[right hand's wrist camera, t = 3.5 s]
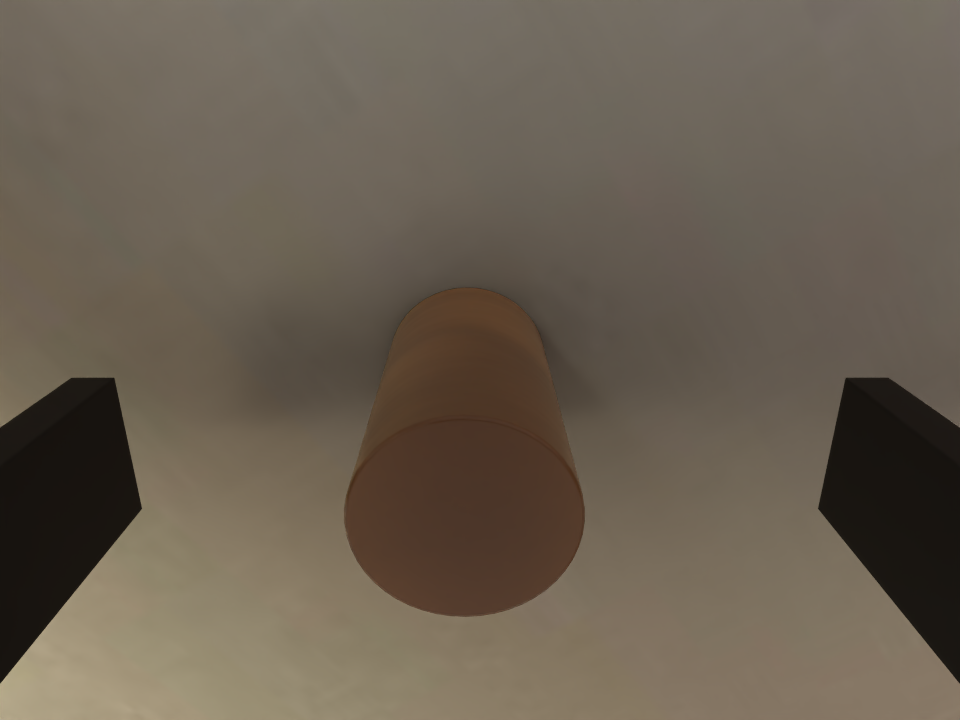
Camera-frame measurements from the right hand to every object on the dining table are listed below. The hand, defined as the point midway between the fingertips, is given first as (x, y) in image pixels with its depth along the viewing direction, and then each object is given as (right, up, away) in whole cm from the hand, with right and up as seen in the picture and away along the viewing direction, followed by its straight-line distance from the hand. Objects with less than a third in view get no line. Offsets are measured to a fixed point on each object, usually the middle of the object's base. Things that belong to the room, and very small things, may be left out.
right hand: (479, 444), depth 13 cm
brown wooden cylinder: (0, +1, +3) cm, 3 cm away
